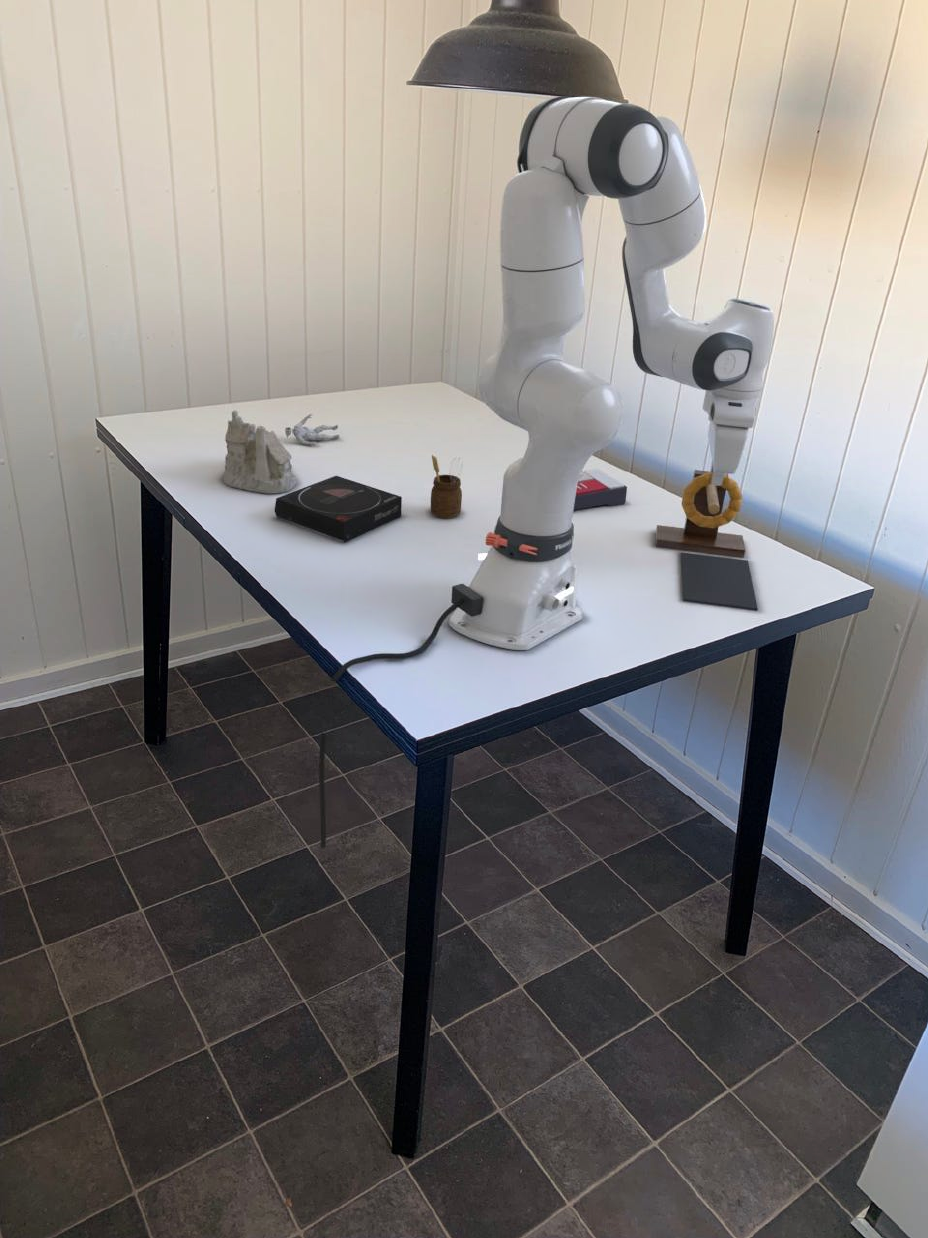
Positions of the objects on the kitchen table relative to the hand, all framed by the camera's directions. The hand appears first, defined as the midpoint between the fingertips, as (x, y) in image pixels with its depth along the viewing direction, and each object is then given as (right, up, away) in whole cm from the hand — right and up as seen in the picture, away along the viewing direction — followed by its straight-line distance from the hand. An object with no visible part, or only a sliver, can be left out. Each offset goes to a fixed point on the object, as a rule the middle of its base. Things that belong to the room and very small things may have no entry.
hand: (715, 480), depth 164 cm
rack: (0, -12, +10) cm, 16 cm away
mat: (0, -17, +1) cm, 17 cm away
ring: (0, -3, +2) cm, 4 cm away
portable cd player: (-67, -5, +16) cm, 69 cm away
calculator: (-19, +1, +31) cm, 37 cm away
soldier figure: (-78, +17, +53) cm, 96 cm away
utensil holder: (-47, -4, +20) cm, 51 cm away
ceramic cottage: (-84, +5, +31) cm, 90 cm away
